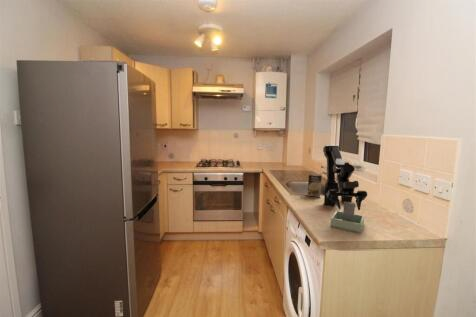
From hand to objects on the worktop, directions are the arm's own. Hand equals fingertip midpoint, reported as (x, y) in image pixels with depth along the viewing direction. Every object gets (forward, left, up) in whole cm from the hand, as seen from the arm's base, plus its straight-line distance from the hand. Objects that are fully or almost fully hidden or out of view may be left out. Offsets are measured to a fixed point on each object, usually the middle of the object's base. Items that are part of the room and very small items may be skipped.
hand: (349, 209), depth 116 cm
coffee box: (-30, +45, -9) cm, 55 cm away
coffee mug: (-8, +47, -9) cm, 49 cm away
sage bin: (-1, +1, -9) cm, 9 cm away
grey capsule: (0, +1, -8) cm, 8 cm away
